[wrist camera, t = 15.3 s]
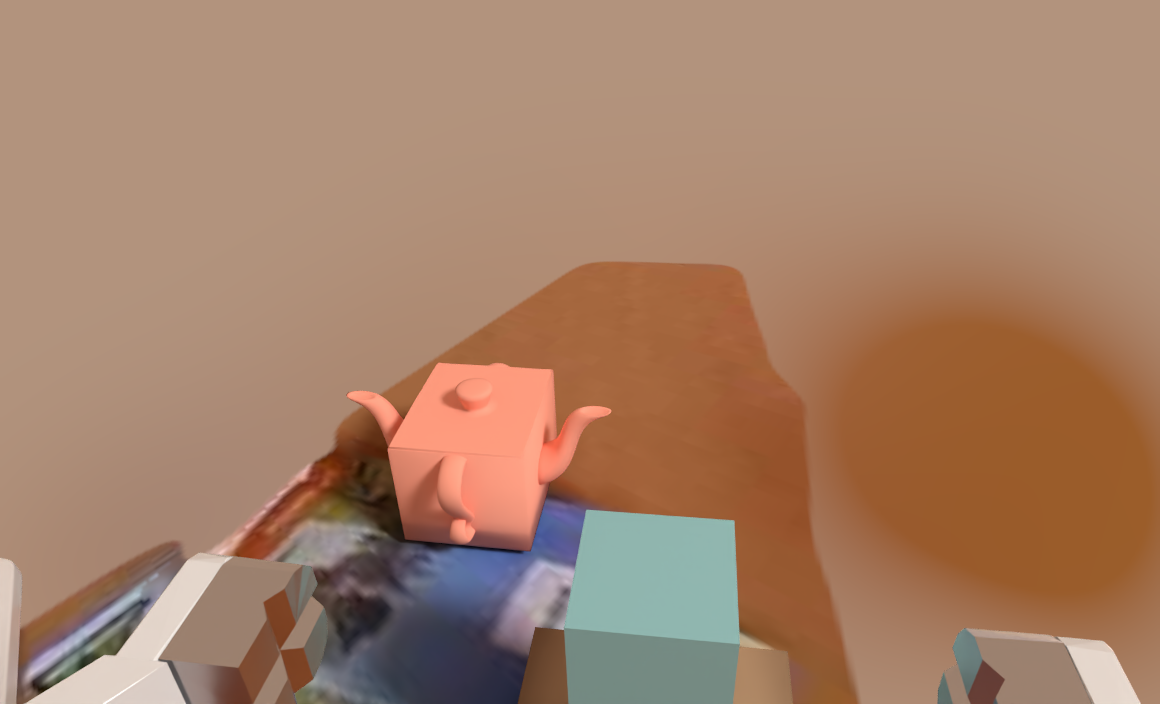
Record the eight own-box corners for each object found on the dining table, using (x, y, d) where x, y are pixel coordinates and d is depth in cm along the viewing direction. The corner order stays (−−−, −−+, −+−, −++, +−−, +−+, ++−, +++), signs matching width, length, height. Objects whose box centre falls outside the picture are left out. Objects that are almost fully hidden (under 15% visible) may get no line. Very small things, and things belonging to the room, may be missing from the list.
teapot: (401, 434, 53) (382, 326, 49) (623, 450, 51) (623, 339, 46) (326, 564, 43) (293, 443, 39) (598, 592, 41) (595, 466, 36)
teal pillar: (575, 818, 28) (564, 627, 23) (592, 693, 32) (586, 509, 27) (718, 836, 27) (739, 644, 22) (716, 706, 31) (734, 520, 26)
